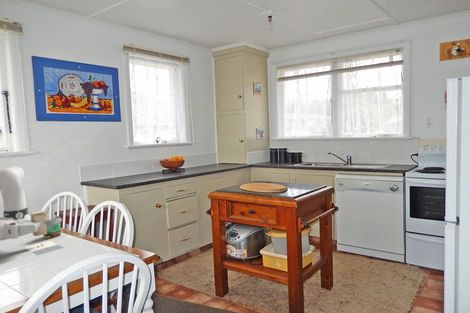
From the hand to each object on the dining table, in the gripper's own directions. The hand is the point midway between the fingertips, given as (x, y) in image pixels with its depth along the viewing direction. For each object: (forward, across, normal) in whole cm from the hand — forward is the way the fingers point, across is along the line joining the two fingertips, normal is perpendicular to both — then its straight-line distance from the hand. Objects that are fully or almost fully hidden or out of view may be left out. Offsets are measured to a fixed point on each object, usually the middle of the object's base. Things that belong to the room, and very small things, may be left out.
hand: (40, 221), depth 171 cm
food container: (+10, -11, -13) cm, 20 cm away
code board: (-1, +5, -12) cm, 13 cm away
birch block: (-1, 0, -6) cm, 6 cm away
